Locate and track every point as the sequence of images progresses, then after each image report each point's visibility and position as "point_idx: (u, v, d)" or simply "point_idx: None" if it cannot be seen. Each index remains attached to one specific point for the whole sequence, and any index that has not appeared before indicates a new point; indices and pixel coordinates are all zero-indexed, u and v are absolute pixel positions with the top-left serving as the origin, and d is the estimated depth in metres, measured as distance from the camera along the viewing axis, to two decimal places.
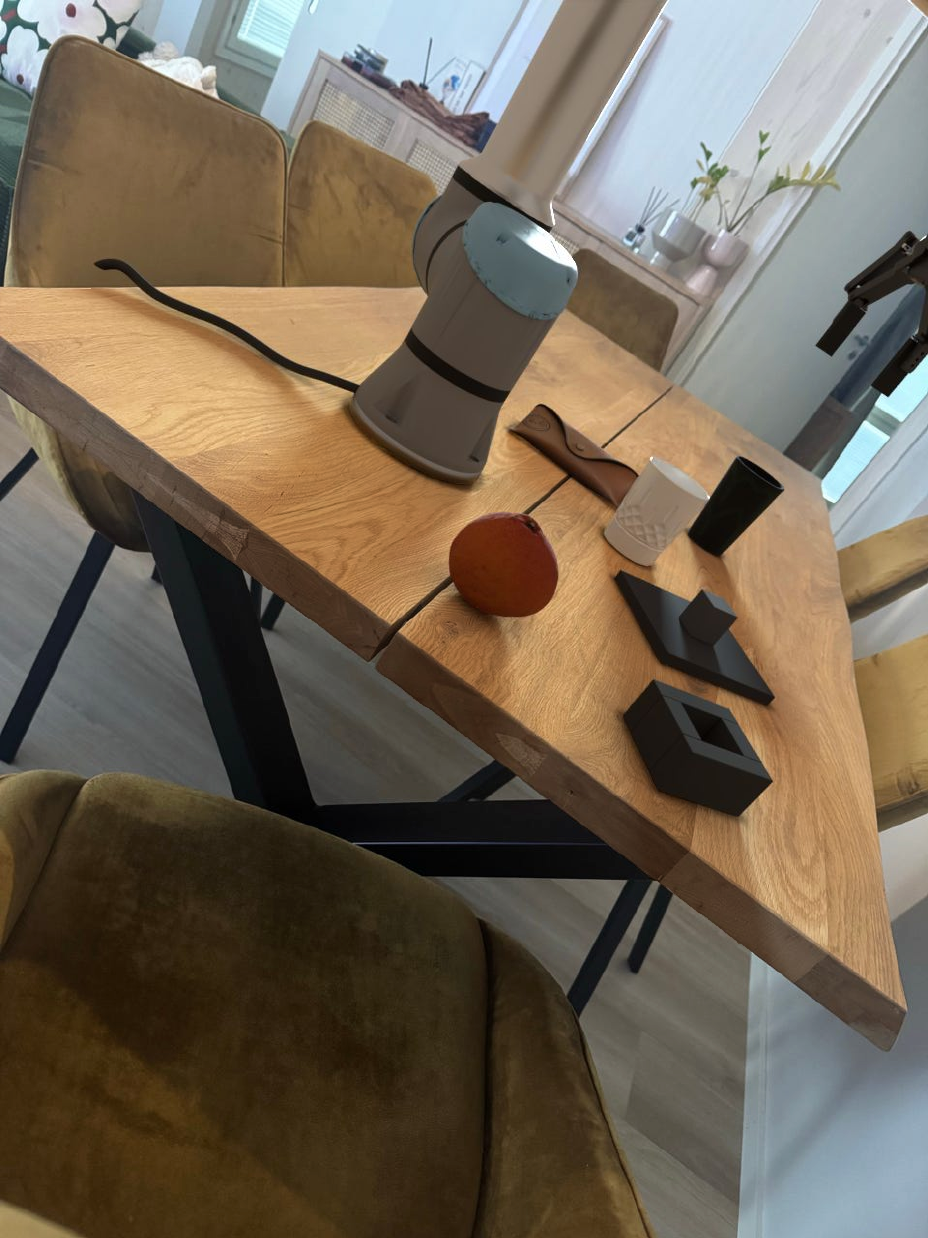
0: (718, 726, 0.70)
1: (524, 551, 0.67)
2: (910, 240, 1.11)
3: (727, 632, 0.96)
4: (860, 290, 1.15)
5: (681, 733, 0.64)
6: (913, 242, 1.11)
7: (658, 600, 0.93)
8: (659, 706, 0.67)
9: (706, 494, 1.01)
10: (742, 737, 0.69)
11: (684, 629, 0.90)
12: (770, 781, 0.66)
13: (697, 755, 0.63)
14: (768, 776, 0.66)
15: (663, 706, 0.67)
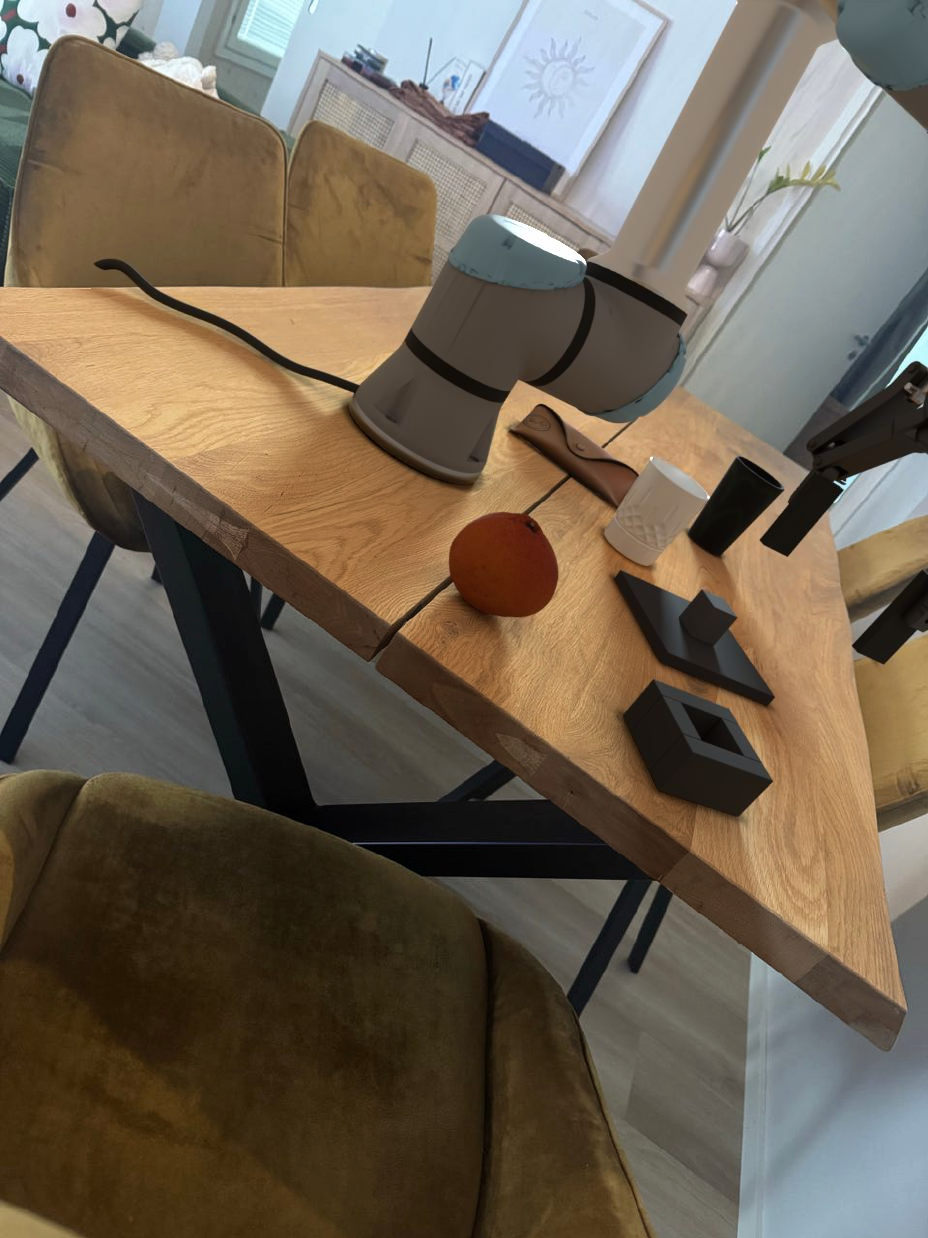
0: (718, 726, 0.70)
1: (524, 551, 0.67)
2: (919, 378, 0.63)
3: (727, 632, 0.96)
4: (833, 456, 0.67)
5: (681, 733, 0.64)
6: (924, 381, 0.63)
7: (658, 600, 0.93)
8: (659, 706, 0.67)
9: (706, 494, 1.01)
10: (742, 737, 0.69)
11: (684, 629, 0.90)
12: (770, 781, 0.66)
13: (697, 755, 0.63)
14: (768, 776, 0.66)
15: (663, 706, 0.67)
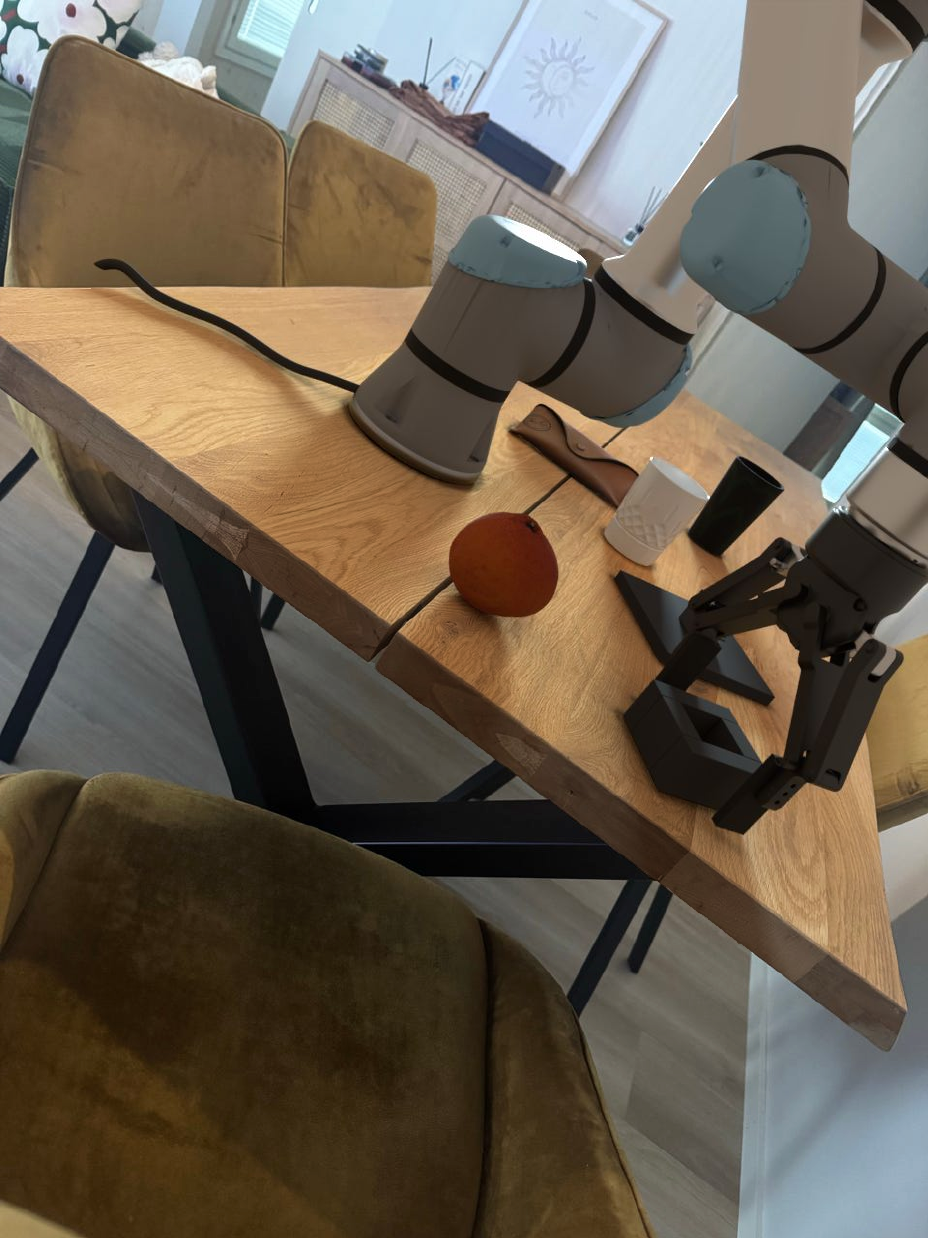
0: (718, 726, 0.70)
1: (524, 551, 0.67)
2: (783, 554, 0.66)
3: None
4: (709, 619, 0.70)
5: (681, 733, 0.64)
6: (788, 558, 0.66)
7: (658, 600, 0.93)
8: (659, 706, 0.67)
9: (706, 494, 1.01)
10: (742, 737, 0.69)
11: (684, 629, 0.90)
12: None
13: (697, 755, 0.63)
14: None
15: (663, 706, 0.67)
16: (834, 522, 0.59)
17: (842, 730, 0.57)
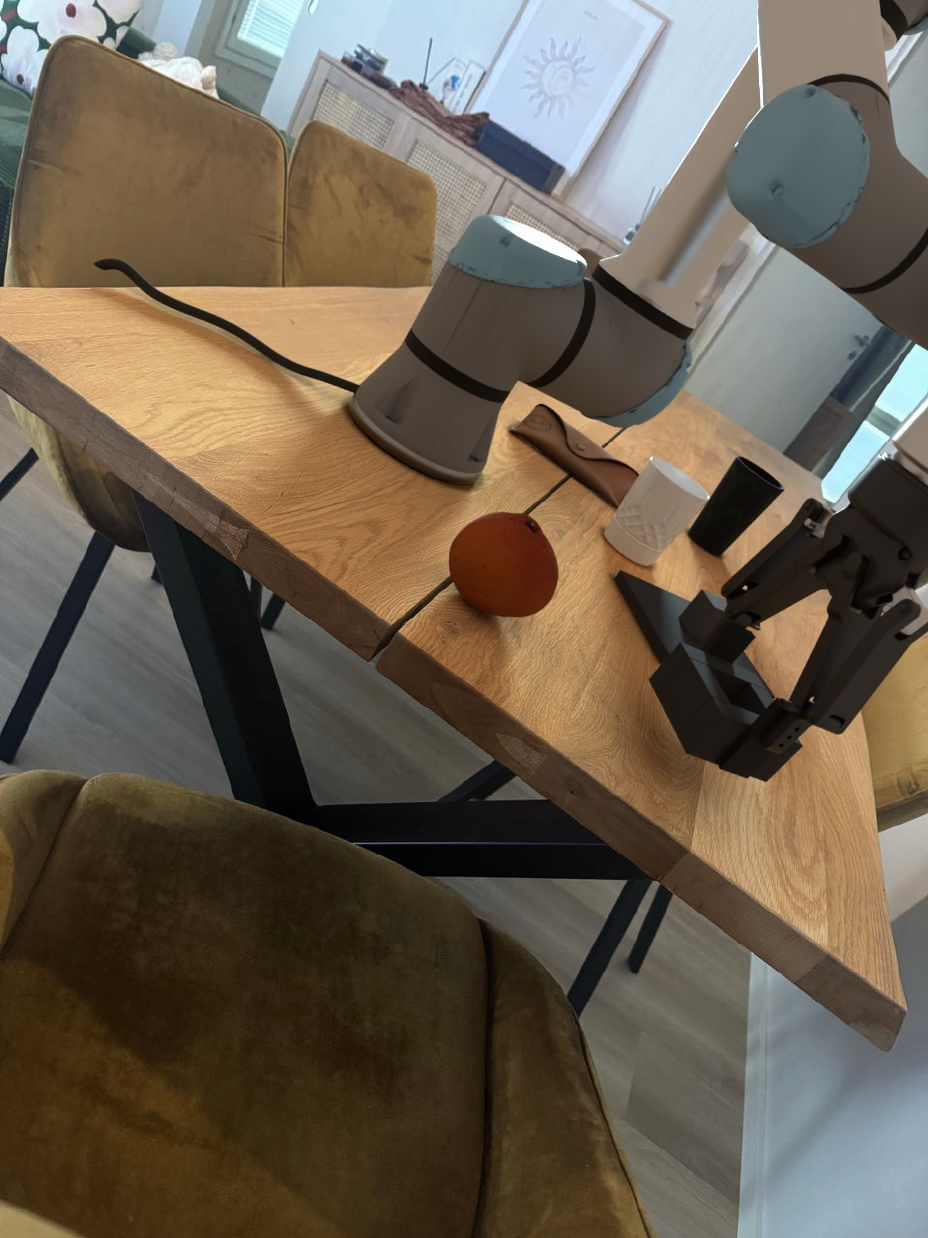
0: (746, 691, 0.69)
1: (524, 551, 0.67)
2: (816, 513, 0.65)
3: None
4: (743, 602, 0.67)
5: (710, 695, 0.63)
6: (822, 516, 0.64)
7: (658, 600, 0.93)
8: (686, 669, 0.66)
9: (706, 494, 1.01)
10: (770, 702, 0.68)
11: (684, 629, 0.90)
12: (800, 745, 0.65)
13: (727, 717, 0.62)
14: (797, 740, 0.65)
15: (690, 668, 0.66)
16: (880, 468, 0.57)
17: (855, 681, 0.57)
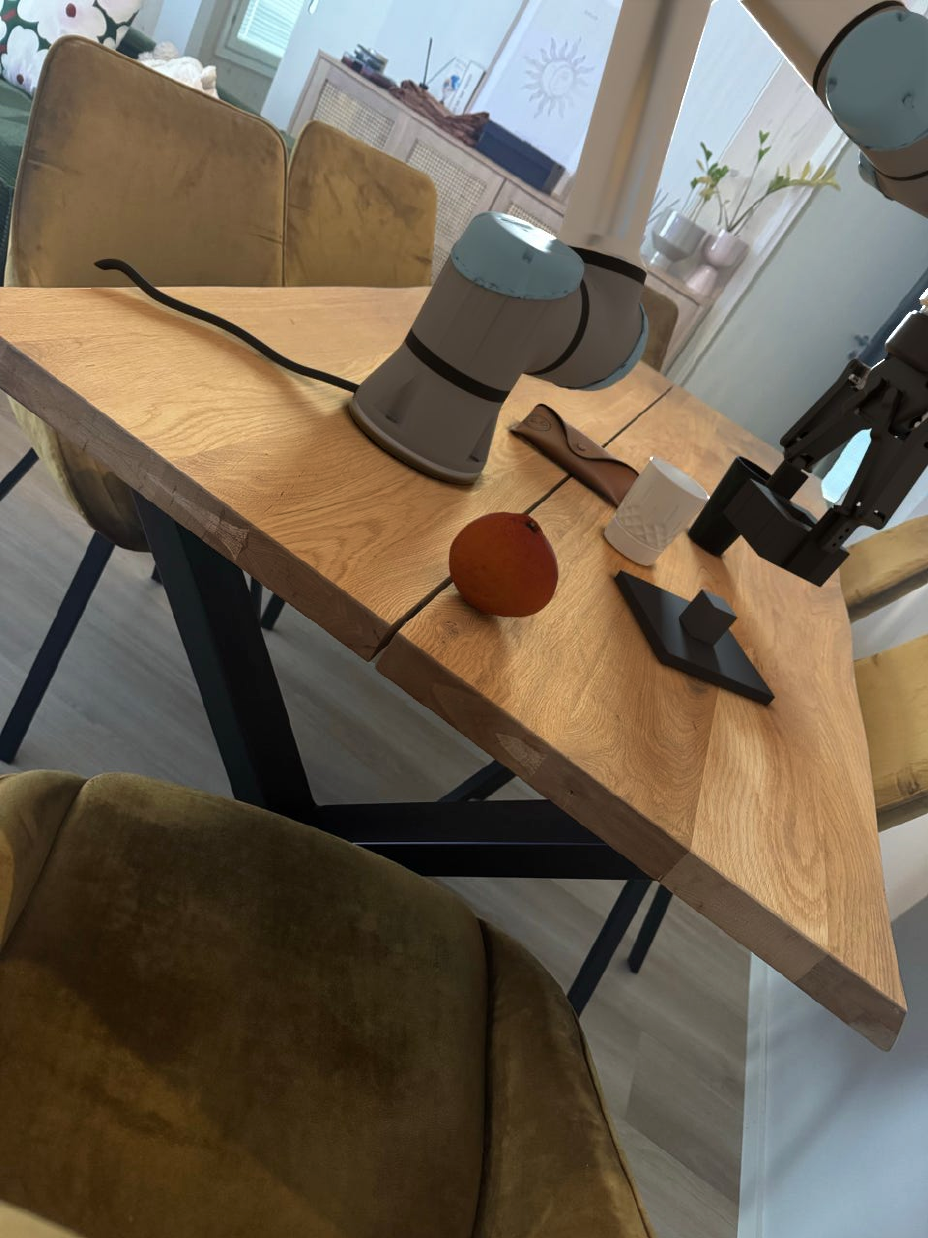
0: (802, 519, 0.86)
1: (524, 551, 0.67)
2: (858, 370, 0.82)
3: (727, 632, 0.96)
4: (799, 446, 0.84)
5: (777, 509, 0.80)
6: (863, 372, 0.81)
7: (658, 600, 0.93)
8: (756, 496, 0.83)
9: (706, 494, 1.01)
10: None
11: (684, 629, 0.90)
12: (847, 553, 0.81)
13: (792, 523, 0.78)
14: (846, 550, 0.82)
15: (759, 495, 0.82)
16: (911, 319, 0.74)
17: (894, 482, 0.74)
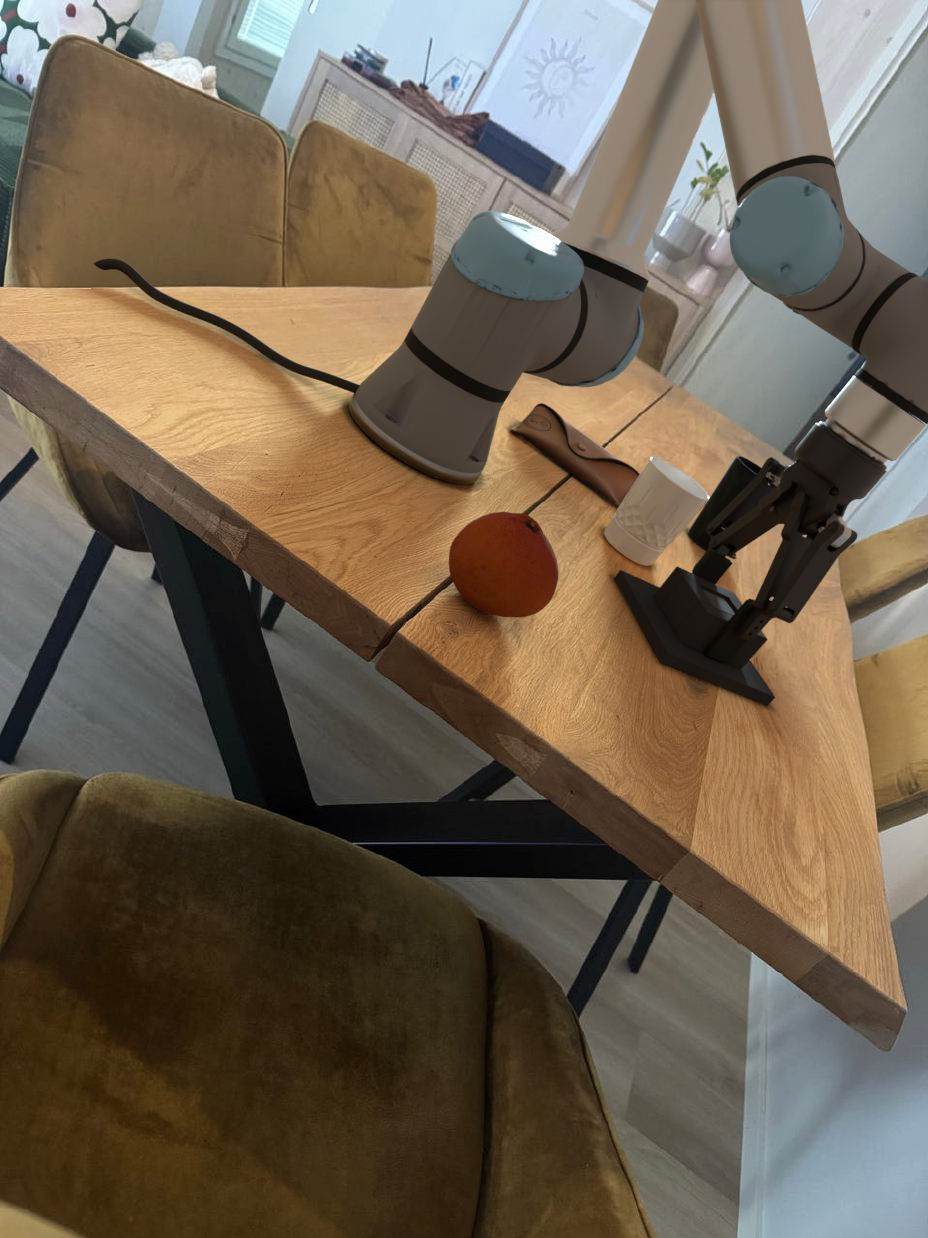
0: None
1: (524, 551, 0.67)
2: (774, 468, 0.88)
3: None
4: (722, 536, 0.91)
5: (699, 600, 0.86)
6: (779, 470, 0.88)
7: None
8: (681, 585, 0.89)
9: (706, 494, 1.01)
10: None
11: None
12: (765, 639, 0.88)
13: (711, 614, 0.85)
14: (764, 635, 0.88)
15: (684, 584, 0.89)
16: (816, 431, 0.81)
17: (801, 582, 0.80)
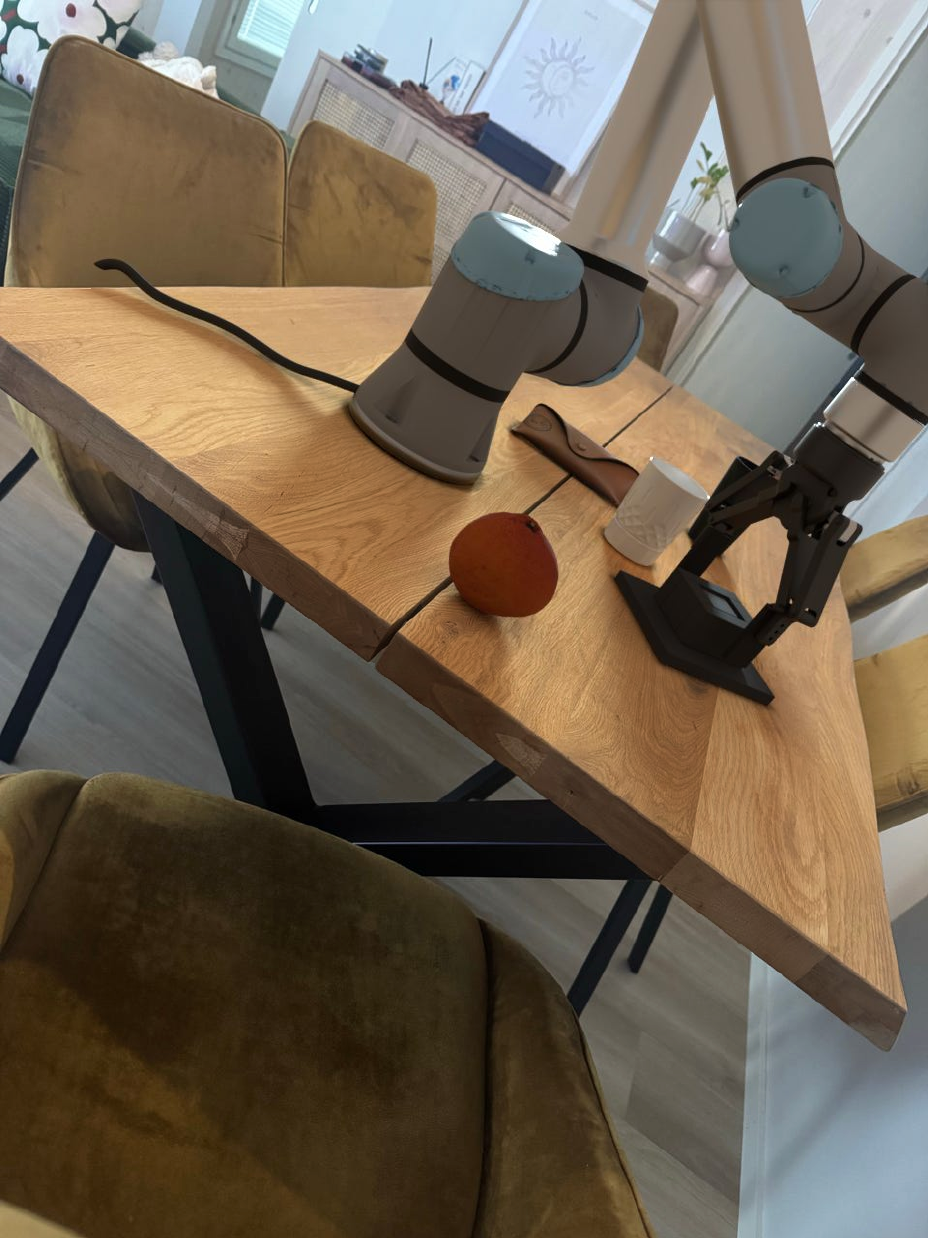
0: None
1: (524, 551, 0.67)
2: (778, 462, 0.88)
3: None
4: (721, 515, 0.92)
5: (699, 600, 0.86)
6: (781, 465, 0.88)
7: None
8: (681, 585, 0.89)
9: (706, 494, 1.01)
10: (744, 610, 0.91)
11: None
12: None
13: (711, 615, 0.85)
14: None
15: (684, 584, 0.89)
16: (814, 432, 0.81)
17: (817, 580, 0.79)
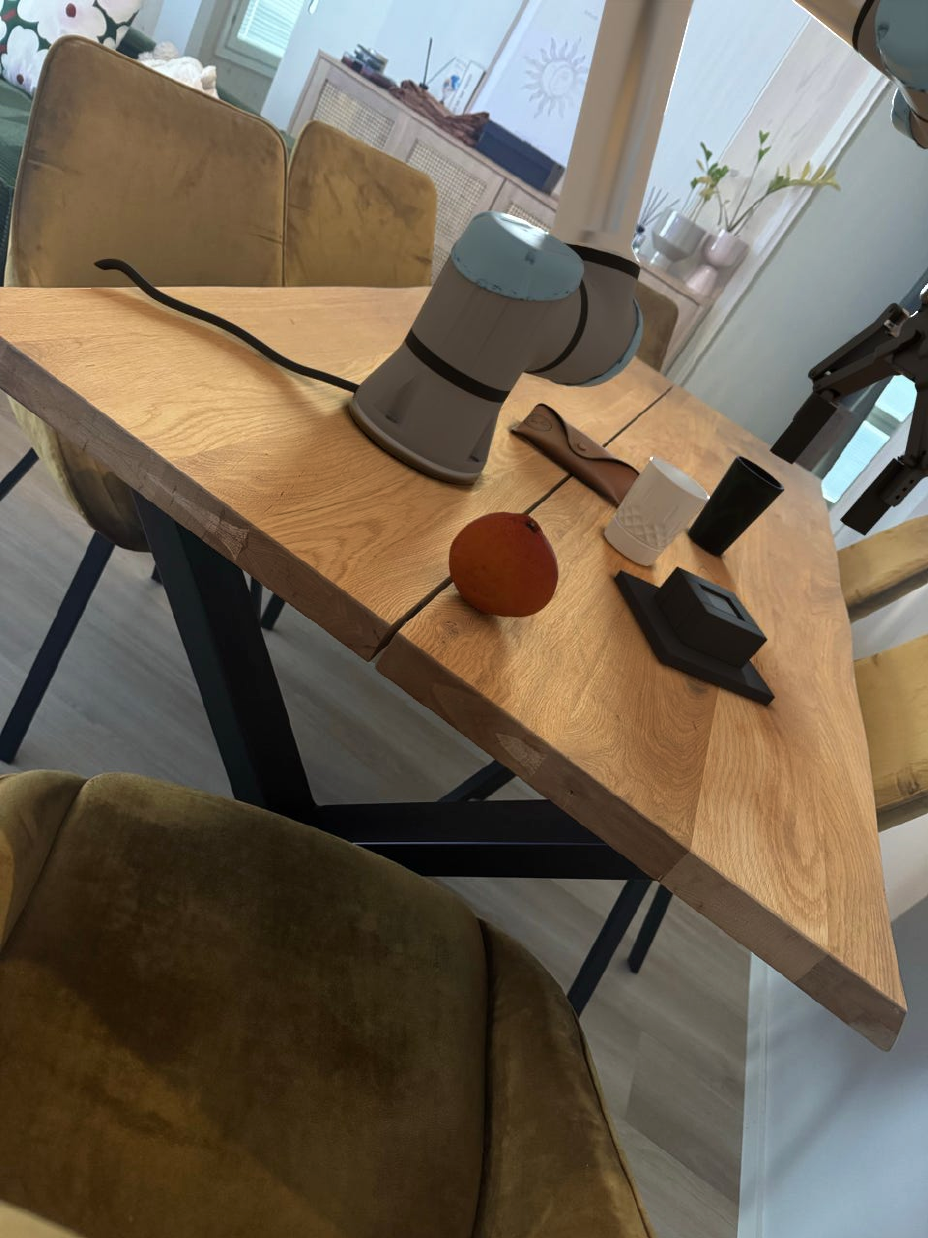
0: None
1: (524, 551, 0.67)
2: (896, 316, 0.81)
3: None
4: (829, 380, 0.85)
5: (699, 600, 0.86)
6: (900, 319, 0.81)
7: None
8: (681, 585, 0.89)
9: (706, 494, 1.01)
10: (744, 610, 0.91)
11: None
12: (765, 639, 0.88)
13: (711, 615, 0.85)
14: (764, 636, 0.88)
15: (684, 584, 0.89)
16: None
17: None
